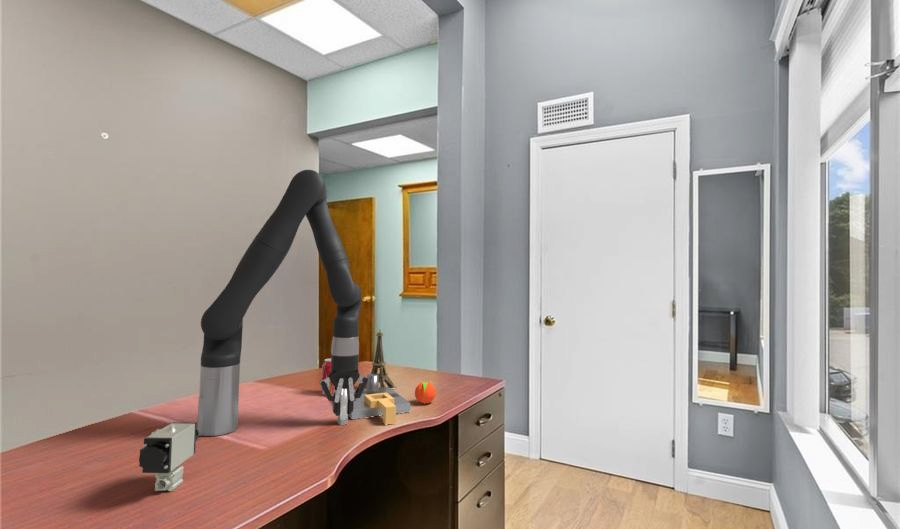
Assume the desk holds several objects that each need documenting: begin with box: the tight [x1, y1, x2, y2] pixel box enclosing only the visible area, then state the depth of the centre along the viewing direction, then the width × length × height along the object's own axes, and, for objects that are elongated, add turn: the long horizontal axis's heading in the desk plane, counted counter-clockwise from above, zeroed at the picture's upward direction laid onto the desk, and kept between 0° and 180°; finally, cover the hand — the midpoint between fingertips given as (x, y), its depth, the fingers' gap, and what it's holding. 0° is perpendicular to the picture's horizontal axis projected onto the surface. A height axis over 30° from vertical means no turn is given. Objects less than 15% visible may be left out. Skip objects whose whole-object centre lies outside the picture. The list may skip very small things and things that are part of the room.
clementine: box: [414, 381, 437, 404], centre depth 143 cm, size 8×7×7 cm
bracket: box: [364, 393, 397, 425], centre depth 128 cm, size 7×15×5 cm, turn 27°
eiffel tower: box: [364, 330, 396, 390], centre depth 159 cm, size 11×11×25 cm
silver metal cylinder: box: [337, 388, 349, 426], centre depth 122 cm, size 3×3×10 cm
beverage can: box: [321, 357, 335, 396], centre depth 151 cm, size 6×6×12 cm
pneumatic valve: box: [138, 421, 199, 492], centre depth 84 cm, size 6×12×12 cm, turn 2°
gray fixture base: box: [348, 373, 411, 420], centre depth 138 cm, size 18×20×10 cm
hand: (343, 414), depth 122 cm, fingers closed on silver metal cylinder, 2 cm apart
